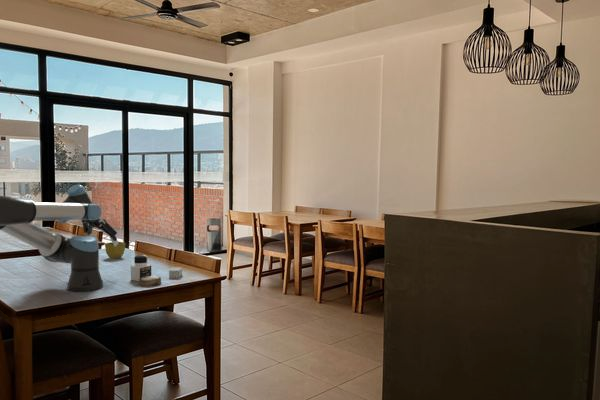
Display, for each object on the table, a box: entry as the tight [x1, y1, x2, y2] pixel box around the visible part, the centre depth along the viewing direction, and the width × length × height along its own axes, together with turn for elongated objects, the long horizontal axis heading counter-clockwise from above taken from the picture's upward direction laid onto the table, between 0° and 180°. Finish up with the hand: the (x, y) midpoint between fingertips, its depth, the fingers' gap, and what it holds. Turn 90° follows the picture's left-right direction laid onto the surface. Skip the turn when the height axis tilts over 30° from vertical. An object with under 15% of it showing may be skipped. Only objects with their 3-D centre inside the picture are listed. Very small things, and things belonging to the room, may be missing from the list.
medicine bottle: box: [130, 254, 152, 282], centre depth 237 cm, size 7×7×12 cm
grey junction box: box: [168, 267, 183, 279], centre depth 244 cm, size 7×5×4 cm
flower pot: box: [104, 241, 126, 259], centre depth 289 cm, size 9×9×9 cm
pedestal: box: [138, 275, 162, 287], centre depth 229 cm, size 10×10×3 cm
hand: (106, 243), depth 251 cm, fingers open, 13 cm apart
